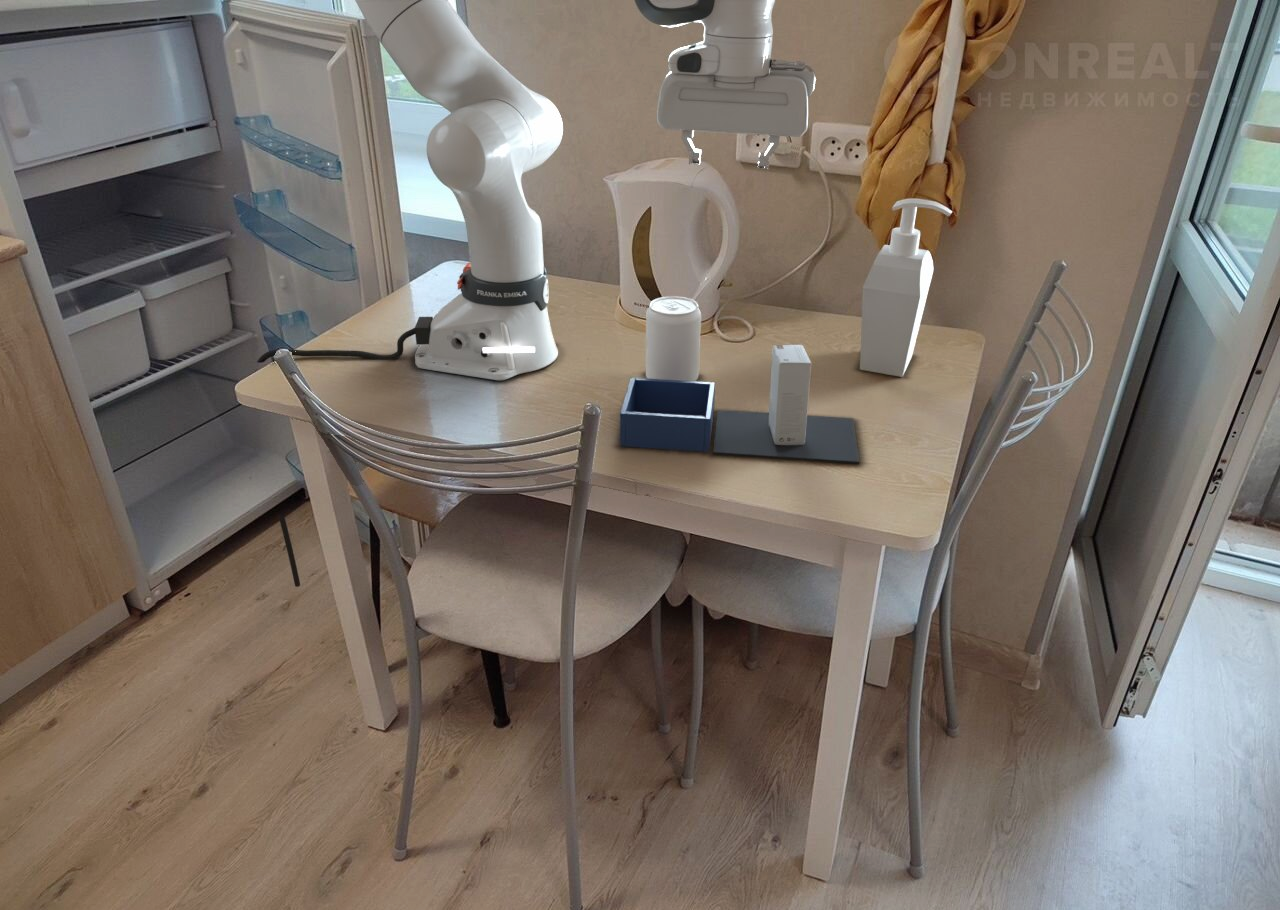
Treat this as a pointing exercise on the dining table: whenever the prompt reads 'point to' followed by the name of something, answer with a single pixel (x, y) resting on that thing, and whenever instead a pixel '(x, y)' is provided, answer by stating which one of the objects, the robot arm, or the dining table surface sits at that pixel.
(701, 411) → the bin
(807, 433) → the mat
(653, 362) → the beverage can
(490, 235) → the robot arm
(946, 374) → the dining table surface
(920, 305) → the soap bottle
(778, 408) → the cosmetic box
